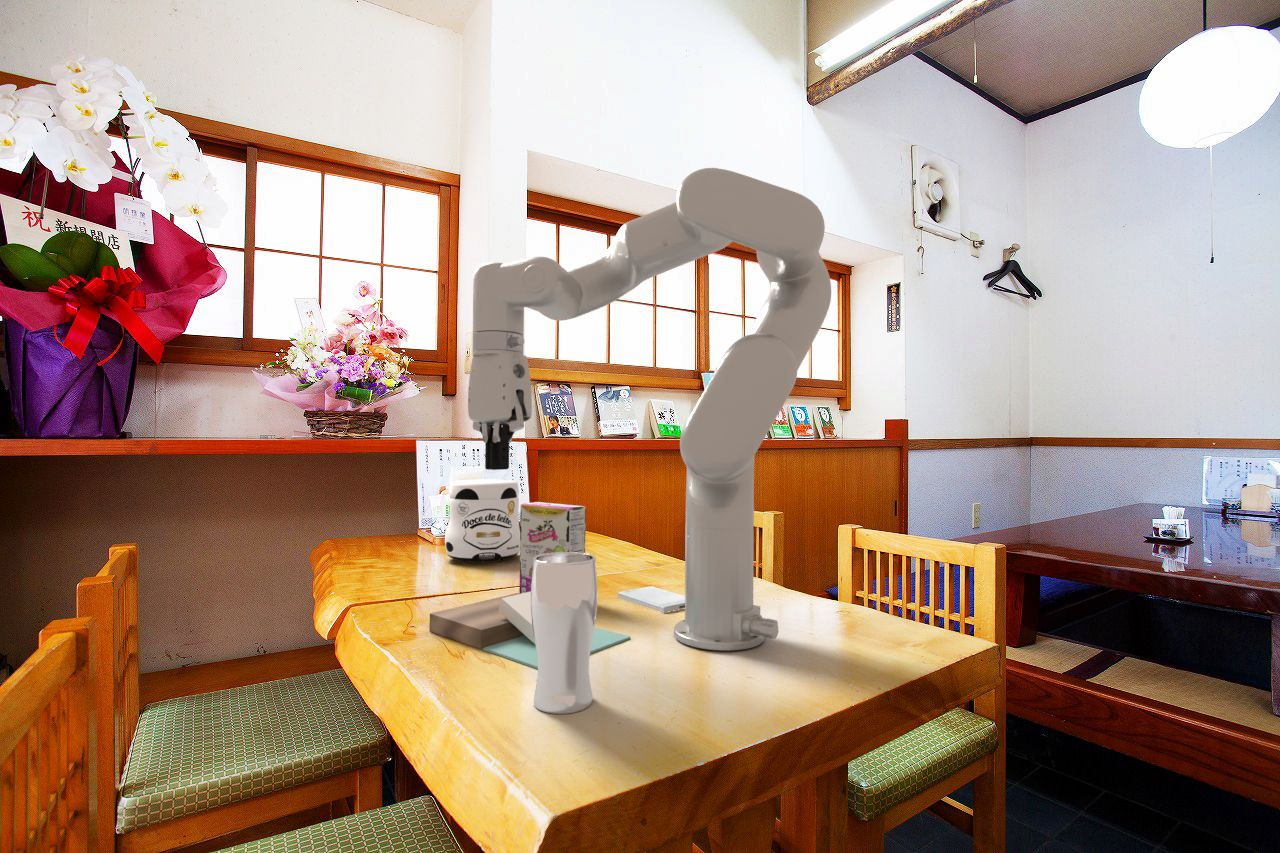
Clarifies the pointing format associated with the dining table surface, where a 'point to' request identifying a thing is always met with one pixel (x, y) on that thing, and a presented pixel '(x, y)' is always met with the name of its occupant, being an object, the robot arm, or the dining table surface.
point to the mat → (527, 654)
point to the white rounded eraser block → (519, 612)
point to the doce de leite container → (483, 521)
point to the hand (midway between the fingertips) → (497, 469)
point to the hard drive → (654, 598)
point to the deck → (475, 624)
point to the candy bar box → (548, 534)
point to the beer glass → (563, 629)
